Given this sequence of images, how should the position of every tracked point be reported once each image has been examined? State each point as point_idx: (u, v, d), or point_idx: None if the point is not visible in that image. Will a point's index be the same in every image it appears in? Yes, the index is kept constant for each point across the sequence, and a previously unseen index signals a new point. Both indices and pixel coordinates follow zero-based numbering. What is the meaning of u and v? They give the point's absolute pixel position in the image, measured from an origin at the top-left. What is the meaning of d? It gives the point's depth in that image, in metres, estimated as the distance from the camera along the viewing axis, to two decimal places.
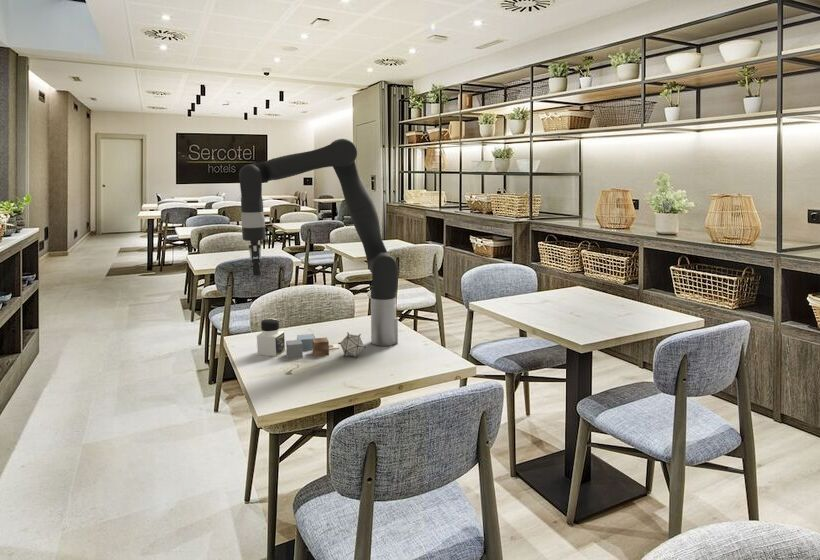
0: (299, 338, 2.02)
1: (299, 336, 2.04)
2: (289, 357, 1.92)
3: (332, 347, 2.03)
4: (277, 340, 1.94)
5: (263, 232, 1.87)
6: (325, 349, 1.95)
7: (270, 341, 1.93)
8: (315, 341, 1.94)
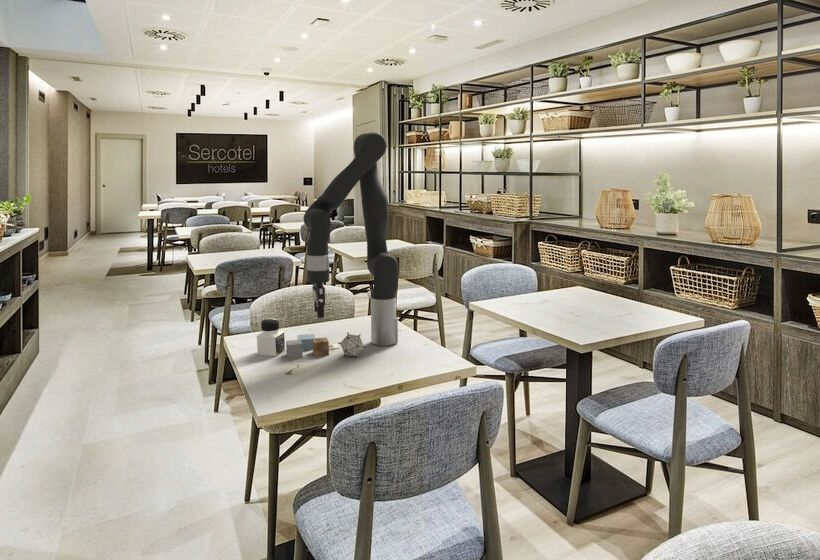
0: (299, 338, 2.02)
1: (299, 336, 2.04)
2: (289, 357, 1.92)
3: (332, 347, 2.03)
4: (277, 340, 1.94)
5: (328, 275, 1.90)
6: (325, 349, 1.95)
7: (270, 341, 1.93)
8: (315, 341, 1.94)
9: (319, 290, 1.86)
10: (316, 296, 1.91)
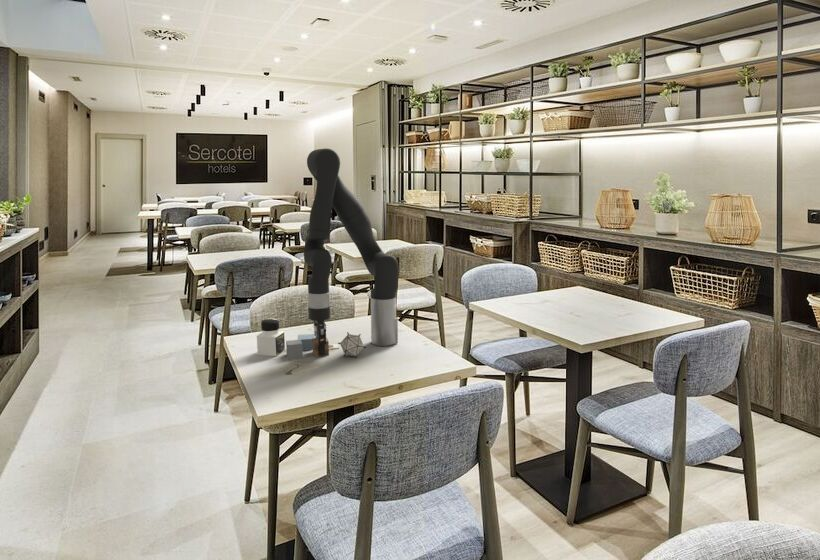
0: (299, 338, 2.02)
1: (299, 336, 2.04)
2: (289, 357, 1.92)
3: (332, 347, 2.03)
4: (277, 340, 1.94)
5: (329, 312, 1.93)
6: None
7: (270, 341, 1.93)
8: (315, 341, 1.94)
9: (320, 331, 1.89)
10: (317, 333, 1.93)
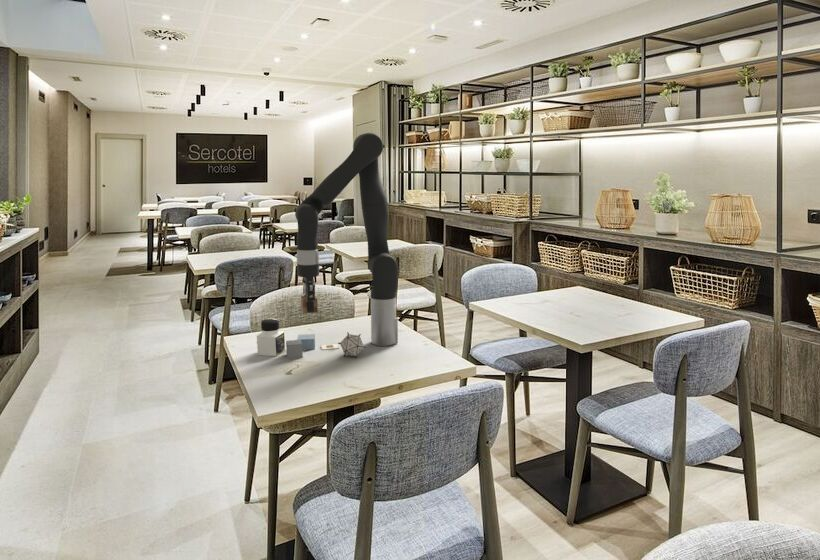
0: (298, 338, 2.02)
1: (299, 336, 2.04)
2: (289, 357, 1.92)
3: (332, 347, 2.03)
4: (277, 340, 1.94)
5: (317, 269, 1.95)
6: None
7: (270, 341, 1.93)
8: (304, 298, 1.96)
9: (309, 287, 1.90)
10: (306, 290, 1.95)
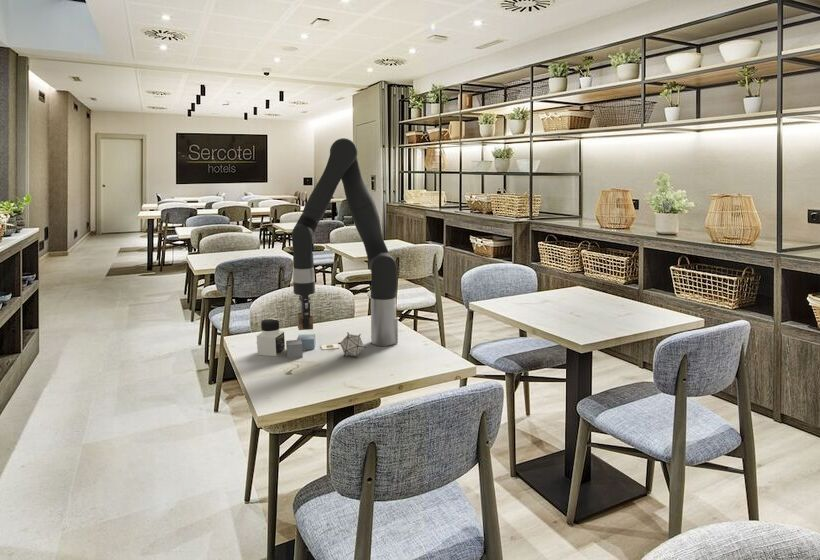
0: (298, 338, 2.02)
1: (300, 336, 2.05)
2: (289, 357, 1.92)
3: (332, 347, 2.03)
4: (277, 340, 1.94)
5: (313, 287, 1.99)
6: (309, 323, 2.00)
7: (270, 341, 1.93)
8: (300, 315, 2.00)
9: (305, 305, 1.95)
10: (302, 307, 1.99)
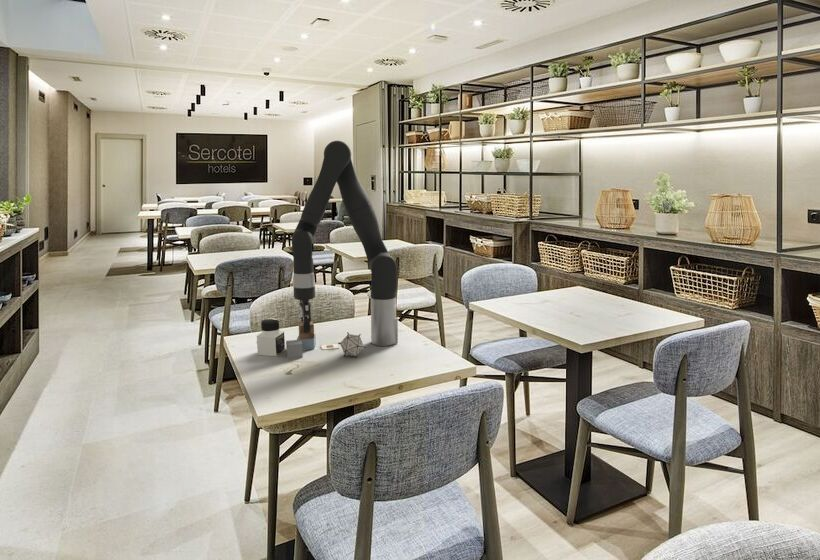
0: (298, 338, 2.02)
1: None
2: (289, 357, 1.92)
3: (332, 347, 2.03)
4: (277, 340, 1.94)
5: (313, 291, 1.99)
6: (310, 332, 2.01)
7: (270, 341, 1.93)
8: (301, 324, 2.01)
9: (305, 307, 1.95)
10: (302, 312, 2.00)
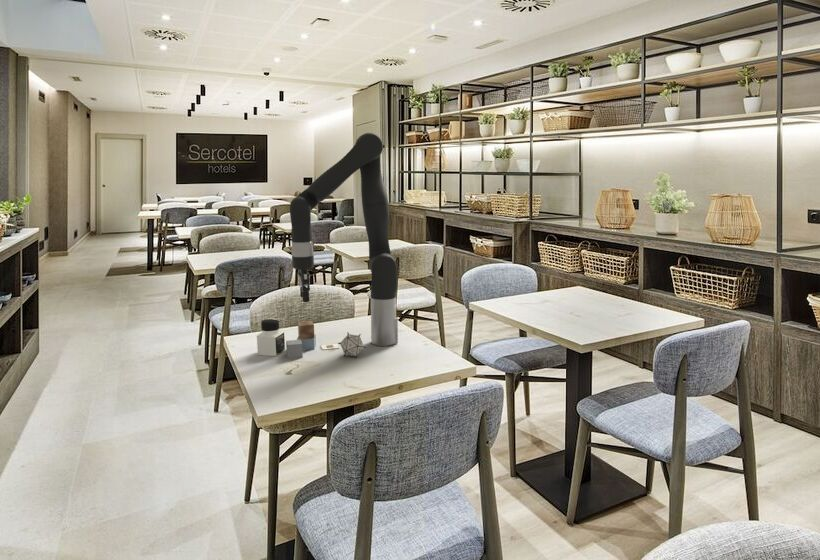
0: (298, 338, 2.02)
1: None
2: (289, 357, 1.92)
3: (332, 347, 2.03)
4: (277, 340, 1.94)
5: (312, 261, 1.97)
6: (310, 332, 2.01)
7: (270, 341, 1.93)
8: (301, 324, 2.01)
9: (303, 275, 1.93)
10: (301, 281, 1.97)
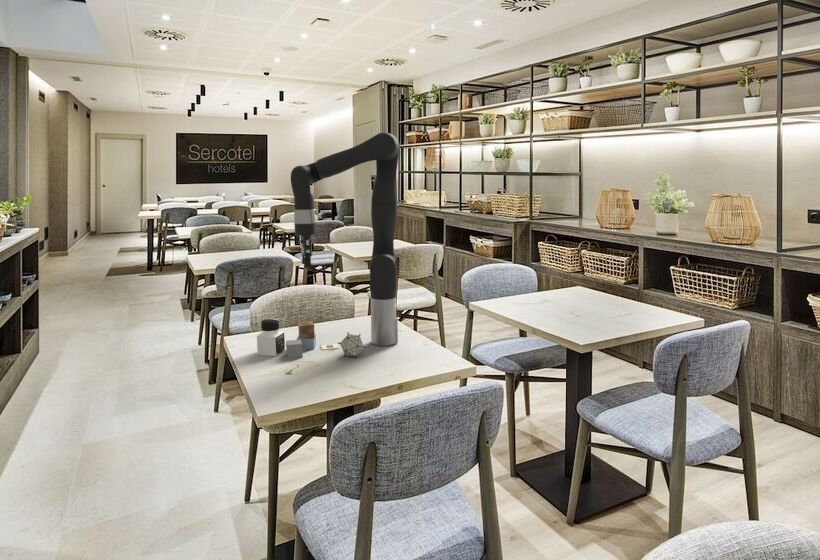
0: (298, 338, 2.02)
1: None
2: (289, 357, 1.92)
3: (332, 347, 2.03)
4: (277, 340, 1.94)
5: (314, 228, 2.04)
6: (310, 332, 2.01)
7: (270, 341, 1.93)
8: (301, 324, 2.01)
9: (306, 241, 1.99)
10: (303, 248, 2.04)
